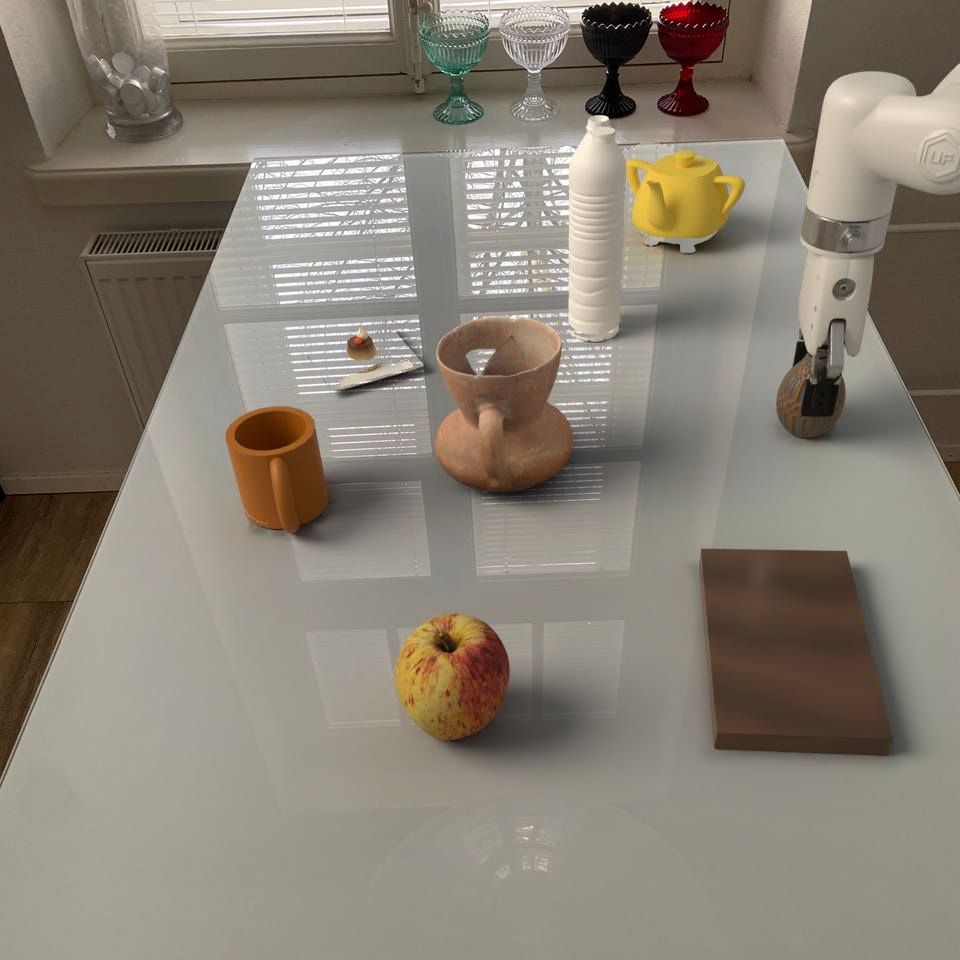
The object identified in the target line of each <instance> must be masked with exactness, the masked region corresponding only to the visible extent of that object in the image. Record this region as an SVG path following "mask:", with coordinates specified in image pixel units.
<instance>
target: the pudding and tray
mask: <svg viewBox="0 0 960 960" xmlns="http://www.w3.org/2000/svg"><path fill="white" fill-rule="evenodd" d="M367 331H368V330H366V329H364V328H362V327H361V328H360V327H358V330H357V332H356V334H357V335H355V336H353V337H351V338H349V339H348V341H347V348H346V354H347V355H348V357H350V358H351V359H354V360H358V361H361V360H369V359H372V358H374V357H375V355H377V349H376V346H375V344H374V342H373V340H372V338H371V337H370V336H368V332H367ZM405 360H407V359H405ZM400 361H404V360H400ZM378 363H379V362H378ZM384 363H385V362H384ZM395 363H396V362H395ZM381 364H383V363H380V365H379V364H376V365H374V366H372V367H369V368H368V369H364V370H367V371H364V372H362V371H360V372H357V373H360V374H357V373H353V375H349V376H346V378H343V381H342V380H339V384H336V387H337V388H341V387H344V386H348V385H351V384H355V383H358V382H362V381H366V380H369V379H373V378H376V377H380V376H383V375H387V374H391V373H394V372H398V371H401V370H405V369H408V368H412V367H414V366H413V365H412V364H411V363H410V361H409V360H408V362H407V361H404V362H403V363H402V362H399V364H395V365H394V367H393V366H392V365H391V366H389V365H390V364H388V363H387V365H385V364H383V365H381ZM391 364H392V363H391ZM402 364H403V365H402ZM378 365H379V366H378ZM396 365H398V366H396ZM370 368H371V369H370ZM415 370H416V369H414V370H411V371H407V372H404V373H400V374H396V375H393V376H389V377H386V378H382V379H379V380H375V381H372V382H368V383H364V384H361V385H357V386H354V387H350V388H347V389H343V390H340V391H339V392H342V391H345V390H349V389H353V388H356V387H361V386H363V385H367V384H371V383H374V382H377V381H381V380H385V379H388V378H391V377H395V376H399V375H402V374H407V373H410V372H412V371H415ZM355 374H356V375H355ZM346 375H348V374H346ZM343 377H344V376H343ZM348 377H349V378H348ZM340 381H341V382H340ZM337 383H338V382H337Z"/></svg>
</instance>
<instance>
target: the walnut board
mask: <svg viewBox="0 0 960 960" xmlns="http://www.w3.org/2000/svg"><path fill="white" fill-rule="evenodd" d="M699 553H700V554H699V560H698V562H699V563H698V568H699V569H698V570H699V581H700V592H701V594H700V595H701V606H702V616H703V617H702V618H703V619H702V620H703V628H704V642H705V653H706V665H707V666H706V667H707V678H708V679H707V680H708V690H709V701H710V702H709V703H710V713H711V727H712V738H713V748H714V749H715V750H718V749H719V750H742V751H768V752H791V753H793V752H795V753H814V754H815V753H816V754H817V753H818V754H841V755H842V754H843V755H865V756H866V755H869V756H870V755H872V756H888V754H889V752H890V749H891V747H892V744H893V740H894V736H893V732H892V729H891V728H892V727H891V724H890V720H889V716H888V712H887V708H886V705H885V700H884V696H883V692H882V688H881V685H880V680H879V676H878V671H877V667H876V663H875V660H874V655H873V651H872V648H871V643H870V640H869V639H870V638H869V636H868V631H867V627H866V622H865V619H864V615H863V610H862V607H861V603H860V599H859V595H858V590H857V587H856V582H855V579H854V575H853V570H852V566H851V563H850V558H849V554H848V551H847V550H820V549H819V550H818V549H817V550H815V549H814V550H811V549H762V548H761V549H757V548H756V549H755V548H754V549H753V548H750V549H749V548H700V552H699Z"/></svg>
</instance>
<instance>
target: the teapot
mask: <svg viewBox="0 0 960 960" xmlns="http://www.w3.org/2000/svg"><path fill="white" fill-rule="evenodd" d="M720 166H721V165H720V164H719V162H717V161H715V160H713V159H711V158H708V157H704V156H699V155H696V153H695V151H693V150H690V149H689V150H687V149H683V150H679V151H677V152H674V154H669V155H665V156H663V157H661V158H659V159H657V160H656V161H655V162H654V163H650V162H648V161H645V160H643V159H639V158H630V159H628V160H627V161H626V180H627V181H628V184H629V186H630V188H631V190H632V192H633V194H634V201H633V205H632V211H631V221H632V224H633V226H634V227H636V228H635V229H636V230H637V229H638V230H639V231H641V232H643V233H646V234H648V235H652V236H656V237H662V238H703V237H707V236H709V235H711V234H713V233H715V232H716V231H718V230H719V229H720V228H721V227H722V226H723V225H724V226H725V225H726V224H727V221H728V219H729V217H730V211H731V210H732V209H733V207H735V205H736V204H737V203H738V202H739V200H740V199H741V198H742V195H743V194H744V191H745V188H746V182H745V180H744V179H743V178H742V177H740V176H737V175H724V174H723V171H722V168H721V167H720ZM639 170H642V171H645V172H646V173H645V175H644V177H643V179H642V181H641V182H640V178H639V172H638V171H639ZM728 186H730V189H731V190H730V193H729V189H728ZM724 226H723V227H724ZM723 227H722V228H723ZM722 228H721V229H722ZM721 229H720V230H721Z"/></svg>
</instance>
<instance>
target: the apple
mask: <svg viewBox="0 0 960 960" xmlns="http://www.w3.org/2000/svg"><path fill="white" fill-rule="evenodd" d="M510 672H511V668H510V659H509V654H508V652H507V650H506V647H505V644H504V643H503V641H502V640H501V638H500V636H499V634H498V633H497V632H496V631H495V630H494V628H492V627H491V626H490V625H489V624H488V623H486V622H485V621H483V620H482V619H479V618H477V617H475V616H473V615H469V614H465V613H459V612H455V613H448V614H443V615H439V616H436V617H434V618H431V619H429V620H427V621H424V622H423V623H422V624H420V625H419V626H418V627H417V628H415V630H413V631H412V632H411V634H410V635H408V636H407V638H406V639H405V641H404V642H403V644H402V646H401V648H400V651H399V653H398V655H397V659H396V663H395V667H394V685H395V690H396V694H397V696H398V698H399V701H400V703H401V705H402V707H403V708H404V711H405V712H406V714H407V715H408V716H409V718H410V719H411V720H412V721H413V722H414V723H415V724H416V725H417V726H418V727H419V728H420V729H421V730H422V731H423V732H424V733H426V734H427V735H428V736H429V737H432V738H434V739H437V740H441V741H454V740H459V739H463V738H466V737H469V736H472V735H474V734H477V733H478V732H480V731H481V730H483V729H484V728H485V727H486V726H487V725H488V724H489V723H490V722H491V721H492V720H493V719H494V718H495V717H496V715H497V714H498V712H499V710H500V709H501V707H502V706H503V703H504V700H505V698H506V696H507V692H508V688H509V684H510V683H509V682H510V677H511V676H510V675H511V673H510Z"/></svg>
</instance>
